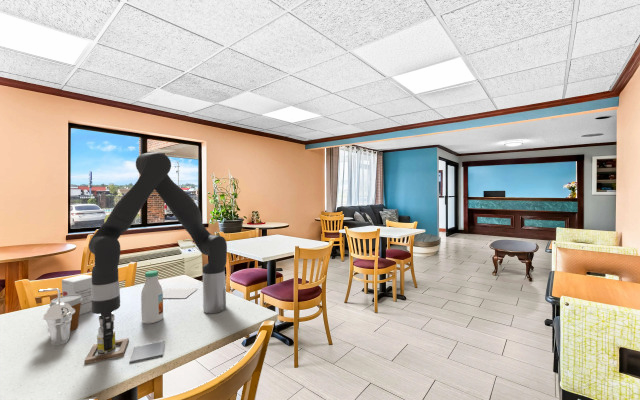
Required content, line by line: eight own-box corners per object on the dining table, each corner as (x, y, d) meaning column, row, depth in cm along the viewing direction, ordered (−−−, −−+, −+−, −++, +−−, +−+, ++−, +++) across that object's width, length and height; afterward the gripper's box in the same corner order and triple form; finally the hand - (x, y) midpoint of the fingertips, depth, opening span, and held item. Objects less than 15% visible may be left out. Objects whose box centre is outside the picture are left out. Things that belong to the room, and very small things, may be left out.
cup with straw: (73, 343, 101) (72, 287, 100) (38, 351, 96) (36, 292, 95) (78, 333, 108) (76, 280, 107) (45, 340, 103) (43, 284, 102)
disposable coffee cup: (89, 325, 114) (88, 295, 114) (60, 337, 105) (59, 304, 105) (73, 322, 117) (72, 292, 117) (44, 333, 108) (43, 301, 108)
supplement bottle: (116, 346, 99) (115, 322, 99) (114, 353, 95) (114, 328, 95) (98, 350, 96) (98, 325, 96) (96, 357, 92) (95, 331, 92)
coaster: (164, 342, 101) (164, 341, 101) (162, 356, 93) (162, 354, 93) (134, 348, 97) (134, 347, 97) (129, 363, 89) (129, 361, 89)
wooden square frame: (128, 341, 102) (128, 338, 102) (123, 356, 93) (123, 352, 93) (93, 348, 98) (93, 344, 98) (84, 364, 89) (84, 360, 89)
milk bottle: (153, 325, 115) (152, 275, 114) (137, 323, 116) (135, 273, 116) (167, 316, 122) (166, 269, 122) (151, 315, 124) (150, 268, 123)
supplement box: (61, 313, 126) (60, 279, 125) (85, 305, 134) (84, 273, 134) (74, 316, 122) (73, 281, 122) (97, 308, 131) (96, 275, 130)
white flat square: (175, 307, 133) (175, 305, 133) (121, 307, 133) (121, 305, 133) (197, 289, 156) (197, 288, 156) (151, 289, 156) (151, 288, 156)
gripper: (122, 299, 92) (123, 351, 93) (117, 287, 103) (118, 334, 104) (92, 305, 87) (94, 360, 88) (90, 292, 98) (92, 341, 99)
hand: (107, 346), depth 96 cm, fingers closed on supplement bottle, 4 cm apart
